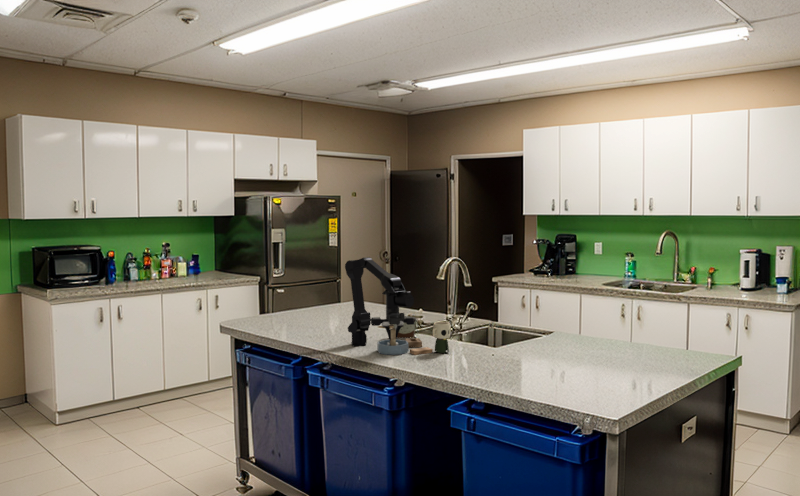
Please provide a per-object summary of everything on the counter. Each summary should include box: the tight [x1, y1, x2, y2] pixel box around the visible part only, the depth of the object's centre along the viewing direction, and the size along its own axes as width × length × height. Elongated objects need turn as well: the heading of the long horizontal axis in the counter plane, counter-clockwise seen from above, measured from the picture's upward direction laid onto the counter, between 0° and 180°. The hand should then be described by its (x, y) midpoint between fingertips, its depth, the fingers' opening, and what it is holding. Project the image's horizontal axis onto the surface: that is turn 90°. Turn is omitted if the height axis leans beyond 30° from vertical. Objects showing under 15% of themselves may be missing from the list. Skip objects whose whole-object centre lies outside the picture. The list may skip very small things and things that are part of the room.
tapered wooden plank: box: [409, 346, 434, 356], centre depth 266 cm, size 9×4×2 cm, turn 118°
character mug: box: [432, 321, 452, 354], centre depth 266 cm, size 11×7×13 cm, turn 132°
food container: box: [392, 315, 418, 339], centre depth 300 cm, size 12×6×10 cm, turn 84°
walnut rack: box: [404, 337, 423, 349], centre depth 281 cm, size 7×8×2 cm
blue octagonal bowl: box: [376, 338, 410, 356], centre depth 269 cm, size 13×13×4 cm
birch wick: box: [390, 327, 396, 346], centre depth 268 cm, size 2×4×9 cm, turn 8°
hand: (392, 340), depth 268 cm, fingers closed on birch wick, 2 cm apart
